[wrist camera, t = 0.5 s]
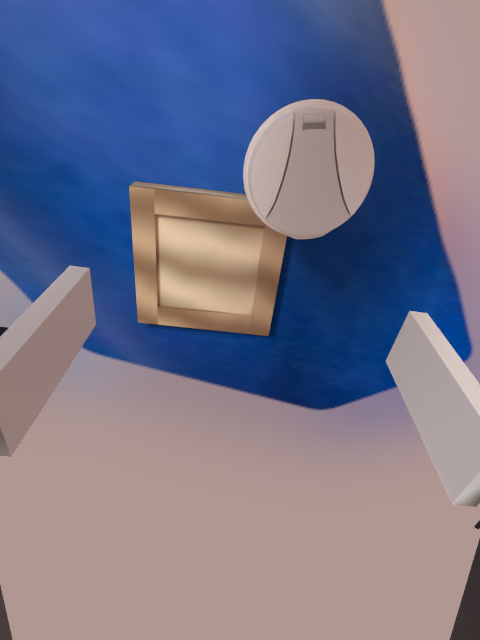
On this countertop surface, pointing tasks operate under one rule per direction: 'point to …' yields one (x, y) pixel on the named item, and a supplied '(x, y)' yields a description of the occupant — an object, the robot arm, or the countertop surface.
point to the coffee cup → (308, 168)
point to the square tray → (203, 259)
